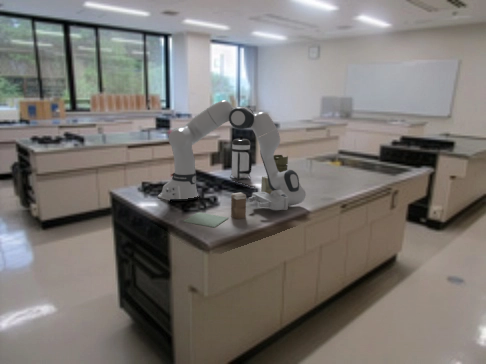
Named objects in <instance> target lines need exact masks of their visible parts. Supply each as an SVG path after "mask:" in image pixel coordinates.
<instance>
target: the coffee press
mask: <svg viewBox="0 0 486 364" xmlns="http://www.w3.org/2000/svg"><path fill="white" fill-rule="evenodd" d="M231 145H232V147H231V174H230V176H229V178H230V179H231V178H232V179H233V178H236V181H238V182H239V181H240V179H246V178H247V179H248V180H250V179H252V177H251V173H252V166H253V165H252V164H253V163H252V161H253V160H252V159H253V157H252V153H251V141H250V140H249V139H248V138H244V136H243V135H242V134H241V135H239V138H235V139H233V140H232V142H231ZM231 176H232V177H231Z"/></svg>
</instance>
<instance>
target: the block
mask: <svg viewBox="0 0 486 364" xmlns="http://www.w3.org/2000/svg"><path fill="white" fill-rule="evenodd" d="M230 195H231V198H230V200H231V201H230V205H231V206H230V210H231V211H230V216H231V217H232V218H234V219H235V220H238V219H245V218H246V215H247V213H246V212H247V209H246V208H247V194H245V193H244V192H235V193H231V194H230Z"/></svg>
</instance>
